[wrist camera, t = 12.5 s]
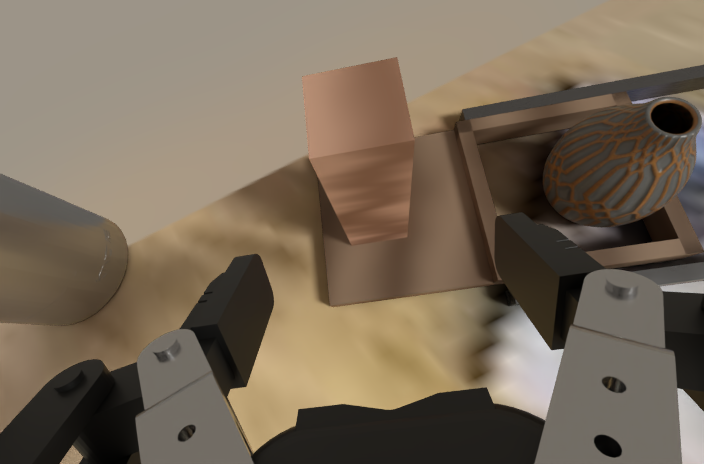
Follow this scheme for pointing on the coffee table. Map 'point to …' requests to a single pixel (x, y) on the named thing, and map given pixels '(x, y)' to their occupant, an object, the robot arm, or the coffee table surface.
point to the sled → (429, 189)
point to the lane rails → (636, 91)
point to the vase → (623, 162)
